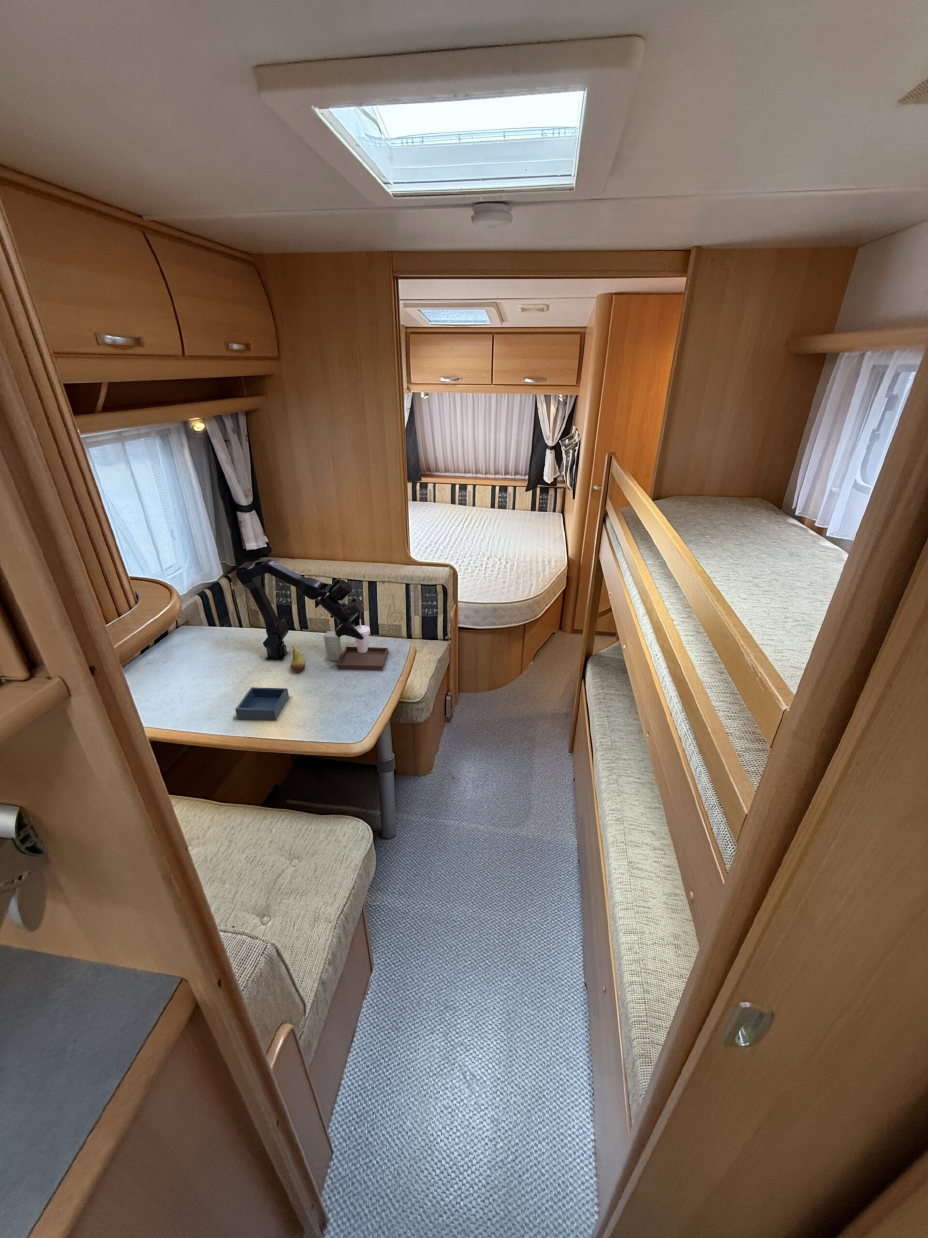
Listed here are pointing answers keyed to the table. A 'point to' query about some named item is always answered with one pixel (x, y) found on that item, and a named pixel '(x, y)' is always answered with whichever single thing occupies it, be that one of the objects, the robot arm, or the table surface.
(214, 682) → the table surface
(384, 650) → the tray
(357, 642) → the smoothie
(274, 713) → the bin
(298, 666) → the fruit
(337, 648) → the box
